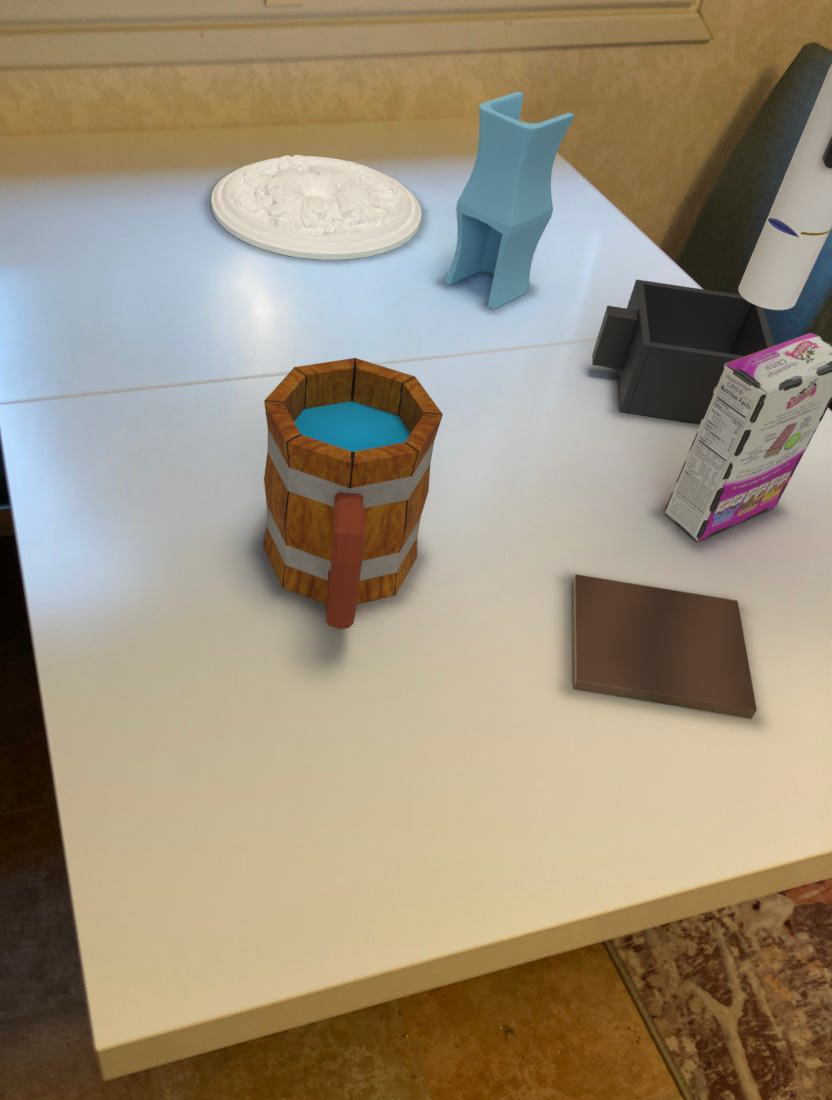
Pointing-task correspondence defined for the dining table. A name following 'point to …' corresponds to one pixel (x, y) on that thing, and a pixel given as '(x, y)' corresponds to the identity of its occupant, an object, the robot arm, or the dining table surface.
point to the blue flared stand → (506, 197)
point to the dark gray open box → (676, 346)
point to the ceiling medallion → (316, 208)
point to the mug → (346, 481)
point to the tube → (795, 217)
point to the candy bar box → (752, 435)
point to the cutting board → (660, 646)
